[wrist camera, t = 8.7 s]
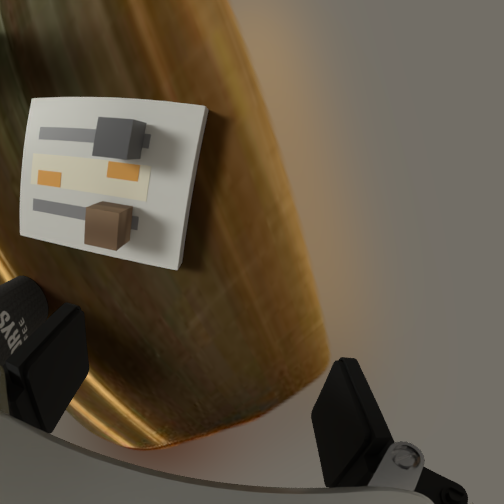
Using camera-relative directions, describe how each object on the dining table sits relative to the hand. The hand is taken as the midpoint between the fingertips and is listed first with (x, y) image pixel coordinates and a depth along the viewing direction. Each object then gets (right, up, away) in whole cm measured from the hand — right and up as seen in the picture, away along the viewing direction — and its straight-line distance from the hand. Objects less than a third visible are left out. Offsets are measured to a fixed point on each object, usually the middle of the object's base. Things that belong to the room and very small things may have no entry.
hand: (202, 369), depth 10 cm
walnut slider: (-10, +7, +14) cm, 19 cm away
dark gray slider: (-8, +13, +12) cm, 20 cm away
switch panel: (-12, +11, +15) cm, 23 cm away
